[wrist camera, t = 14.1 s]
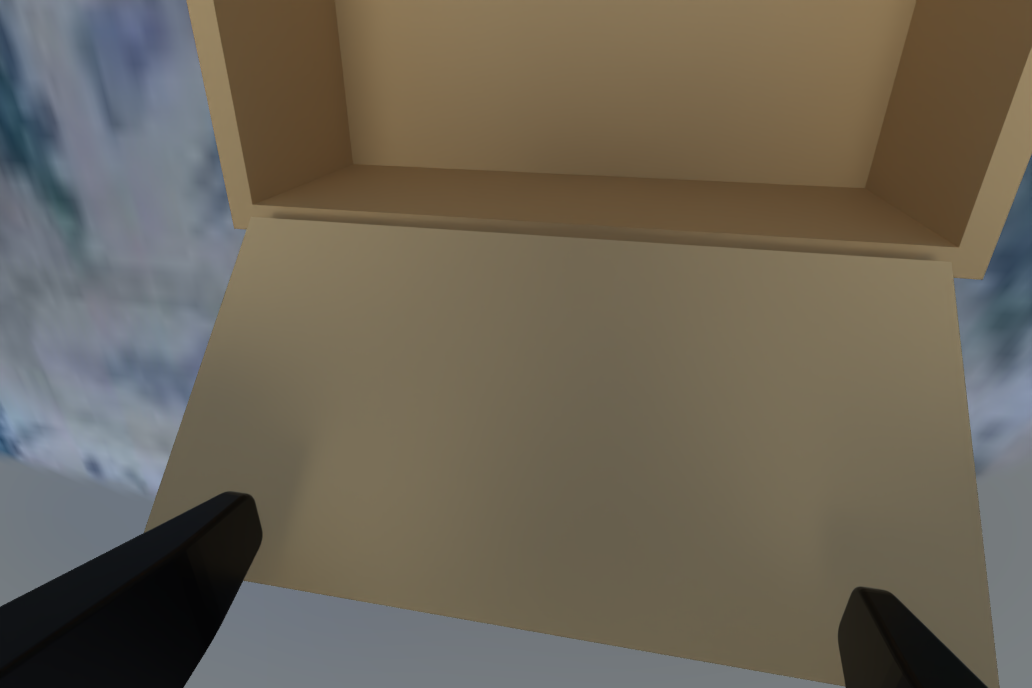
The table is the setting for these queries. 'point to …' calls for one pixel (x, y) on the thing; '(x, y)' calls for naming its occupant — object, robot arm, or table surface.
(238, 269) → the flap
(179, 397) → the table surface
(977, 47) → the carton
